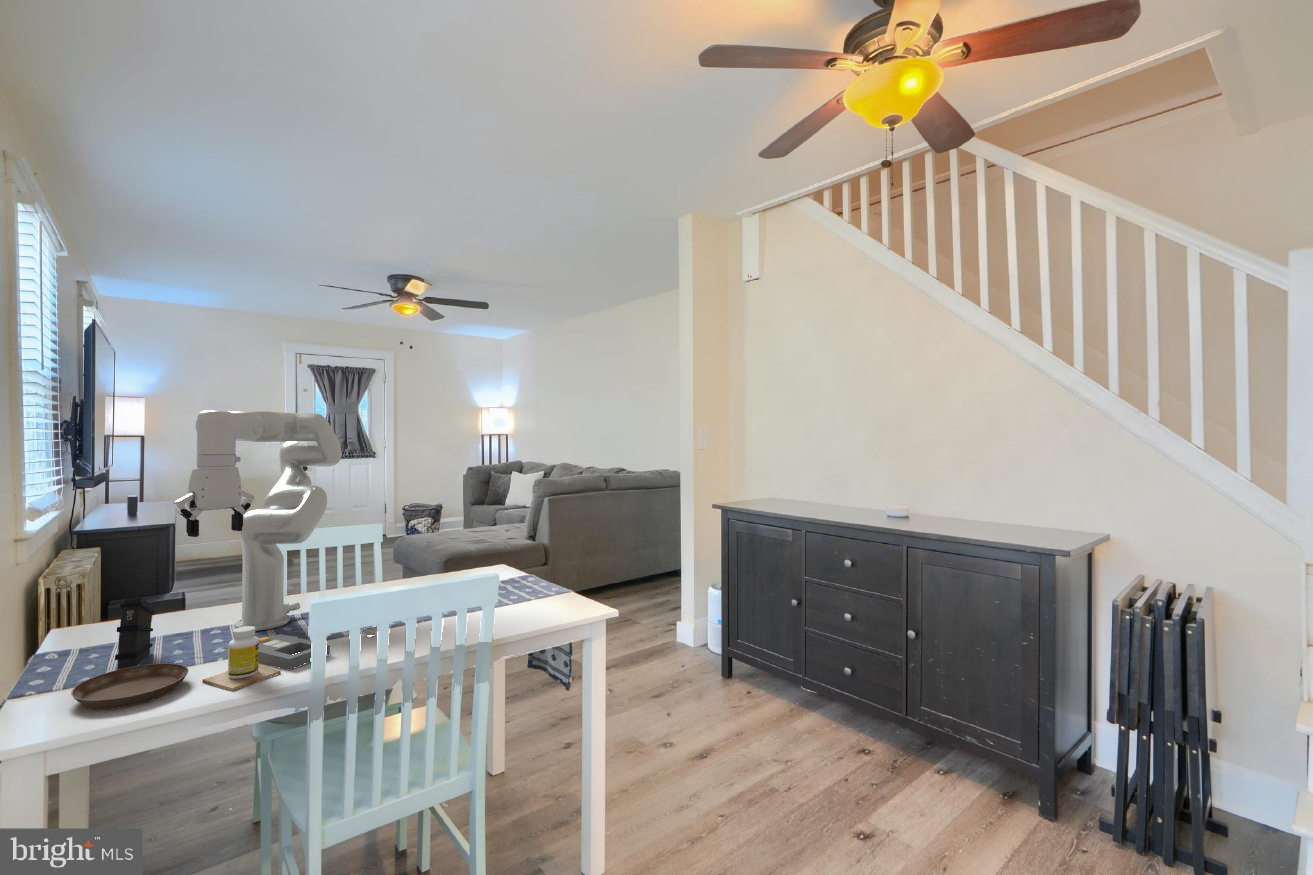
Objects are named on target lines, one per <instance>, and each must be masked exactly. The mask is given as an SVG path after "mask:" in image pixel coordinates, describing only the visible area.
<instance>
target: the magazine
mask: <svg viewBox="0 0 1313 875" xmlns="http://www.w3.org/2000/svg"><path fill="white" fill-rule="evenodd" d="M119 608H120V609H122V610H121V616H120V621H119V622H120V623H119V626H117V627H116V632H117V633H118V646H117V652H118V653H116V654H114V661H117V670H119V669H123V668H128V667H133V666H140V663H141V662H143V661H144V660H145V659H146V657H148V655H150V653H151V648H152V647H153V646H154V645H153V643H152V642H151V632H154V628H153V627H152V620H153V616H155V615H156V611H155V610H154V605H152V604H151V603H149V602H148V601H147V600H145V599H144V598H143V597H139V596H138V597H126V598H125V597H124V598H123V602H122V603H120V604H119Z"/></svg>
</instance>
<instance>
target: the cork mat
mask: <svg viewBox="0 0 1313 875" xmlns="http://www.w3.org/2000/svg"><path fill="white" fill-rule="evenodd" d="M279 673H280V674H281V670H279V669H274V668H270V667H267V666H264V665H263V666H262V665H259V664H258V672H257V673H256V674H255V675H252V676H249V677H245V678H240V679H232V678H229V677H228V670H227V671H224V672H222V673H221V672H220V673H219V674H215V675H213V676H209V677H206V678H203V679H202V681H201V682H202V683H203V684H207V685H209V686H210V685H211V686H212V687H213V686H214V687H217V688H221V689H223V690H226V691H231V692H234V691H236V690H239V688H240V689H241V688H245V687H247V686H250V685H253V684H256V683H258V681H259V682H261V681H264V680H267V679H269V677H270V676H272V677H275V676H277V675H276V674H278V675H280V674H279ZM274 675H275V676H274ZM266 678H267V679H266ZM270 678H271V677H270ZM263 679H264V680H263Z"/></svg>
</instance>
